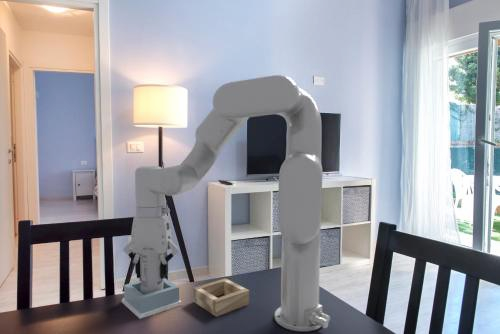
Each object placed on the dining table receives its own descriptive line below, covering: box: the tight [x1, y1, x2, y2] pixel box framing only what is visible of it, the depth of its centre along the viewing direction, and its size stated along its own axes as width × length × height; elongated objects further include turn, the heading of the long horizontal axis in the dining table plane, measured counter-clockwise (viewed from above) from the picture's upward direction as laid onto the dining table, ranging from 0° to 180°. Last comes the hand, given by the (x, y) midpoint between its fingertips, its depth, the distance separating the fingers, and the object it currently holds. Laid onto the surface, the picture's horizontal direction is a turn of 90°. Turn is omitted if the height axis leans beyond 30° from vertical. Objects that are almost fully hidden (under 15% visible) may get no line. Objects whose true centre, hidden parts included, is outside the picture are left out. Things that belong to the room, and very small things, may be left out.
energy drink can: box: [139, 245, 163, 295], centre depth 98 cm, size 6×6×15 cm
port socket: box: [121, 277, 183, 320], centre depth 99 cm, size 12×12×5 cm
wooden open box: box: [193, 278, 250, 318], centre depth 100 cm, size 11×11×4 cm
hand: (151, 275), depth 98 cm, fingers closed on energy drink can, 6 cm apart
